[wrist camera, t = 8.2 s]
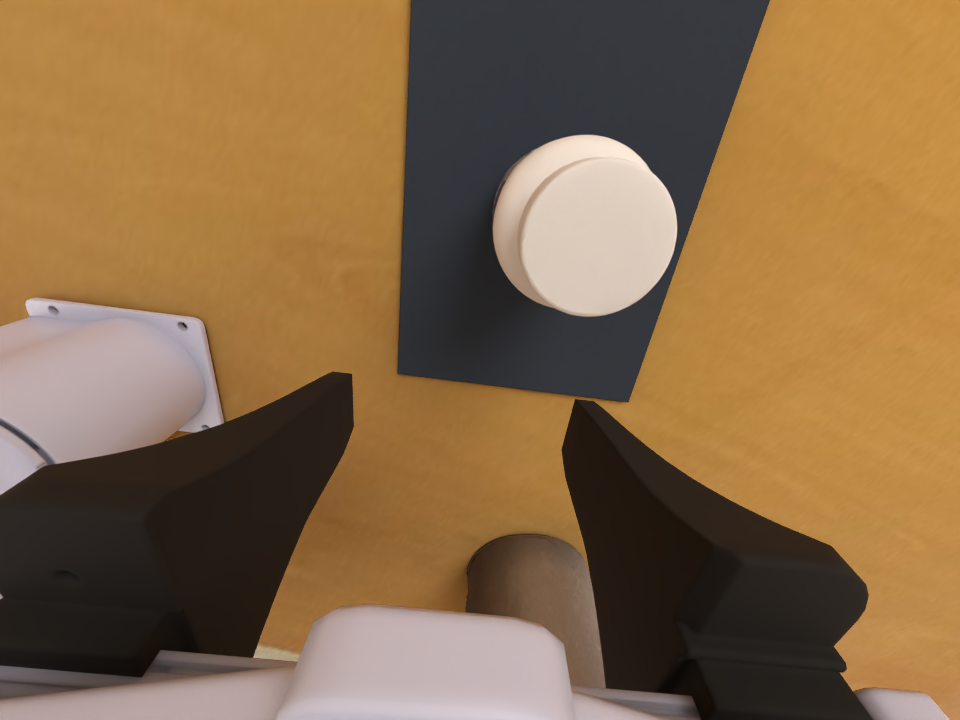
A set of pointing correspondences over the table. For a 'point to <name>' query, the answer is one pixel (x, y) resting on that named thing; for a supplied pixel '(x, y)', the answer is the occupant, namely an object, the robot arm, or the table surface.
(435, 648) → the robot arm
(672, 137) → the felt mat
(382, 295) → the table surface
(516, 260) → the pill bottle
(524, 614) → the pillar candle
